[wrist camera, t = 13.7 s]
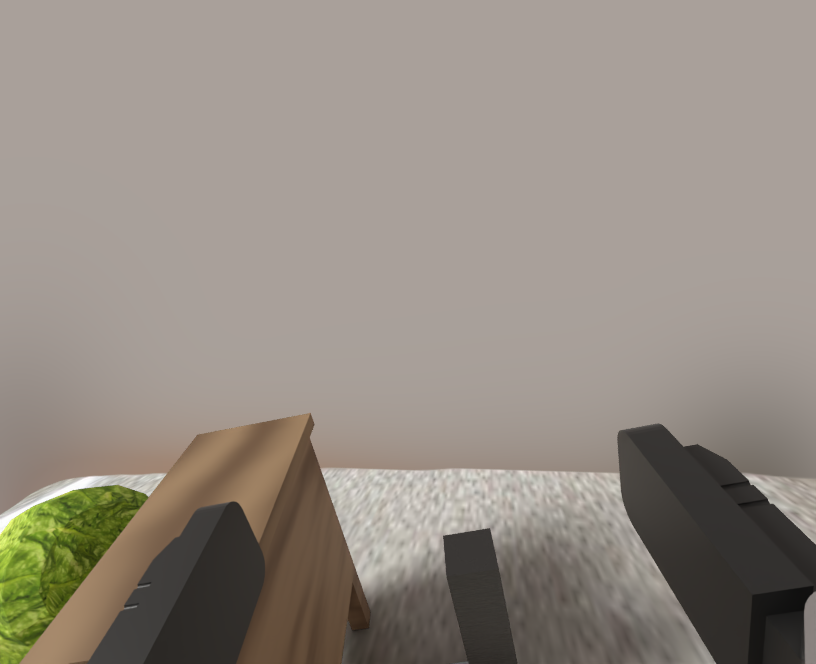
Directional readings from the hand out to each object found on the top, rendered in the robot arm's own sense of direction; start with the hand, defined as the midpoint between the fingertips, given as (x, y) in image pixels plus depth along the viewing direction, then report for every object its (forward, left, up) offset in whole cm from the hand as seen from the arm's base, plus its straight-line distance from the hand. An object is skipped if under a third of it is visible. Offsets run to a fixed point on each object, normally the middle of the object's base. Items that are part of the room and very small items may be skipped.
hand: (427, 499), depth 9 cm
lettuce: (+43, -26, -30) cm, 58 cm away
